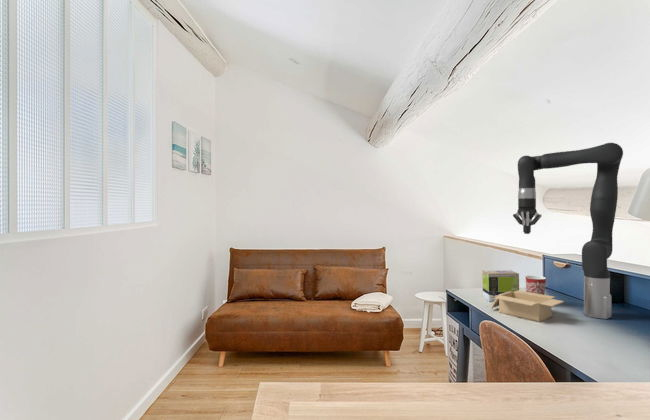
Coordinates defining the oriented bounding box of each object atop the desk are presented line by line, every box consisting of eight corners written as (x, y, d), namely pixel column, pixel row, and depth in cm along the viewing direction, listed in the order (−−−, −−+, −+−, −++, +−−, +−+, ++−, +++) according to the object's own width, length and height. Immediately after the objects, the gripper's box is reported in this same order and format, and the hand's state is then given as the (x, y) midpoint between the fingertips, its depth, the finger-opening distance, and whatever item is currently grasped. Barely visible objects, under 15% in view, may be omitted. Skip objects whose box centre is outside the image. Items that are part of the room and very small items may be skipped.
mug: (549, 307, 177) (549, 279, 177) (528, 306, 180) (528, 278, 179) (540, 300, 190) (540, 274, 190) (520, 299, 192) (520, 273, 192)
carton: (568, 317, 162) (568, 298, 162) (546, 327, 149) (546, 307, 148) (517, 306, 179) (517, 289, 179) (493, 314, 166) (493, 296, 166)
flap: (510, 290, 176) (501, 303, 180) (498, 294, 170) (490, 307, 173) (511, 291, 176) (502, 304, 179) (499, 295, 170) (491, 308, 173)
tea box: (511, 297, 196) (511, 269, 196) (519, 302, 186) (519, 273, 186) (482, 297, 198) (482, 269, 198) (488, 302, 188) (488, 272, 188)
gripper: (545, 197, 176) (545, 234, 176) (516, 198, 187) (516, 232, 187) (538, 197, 172) (537, 235, 172) (509, 197, 182) (509, 233, 182)
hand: (526, 233), depth 179 cm, fingers closed
